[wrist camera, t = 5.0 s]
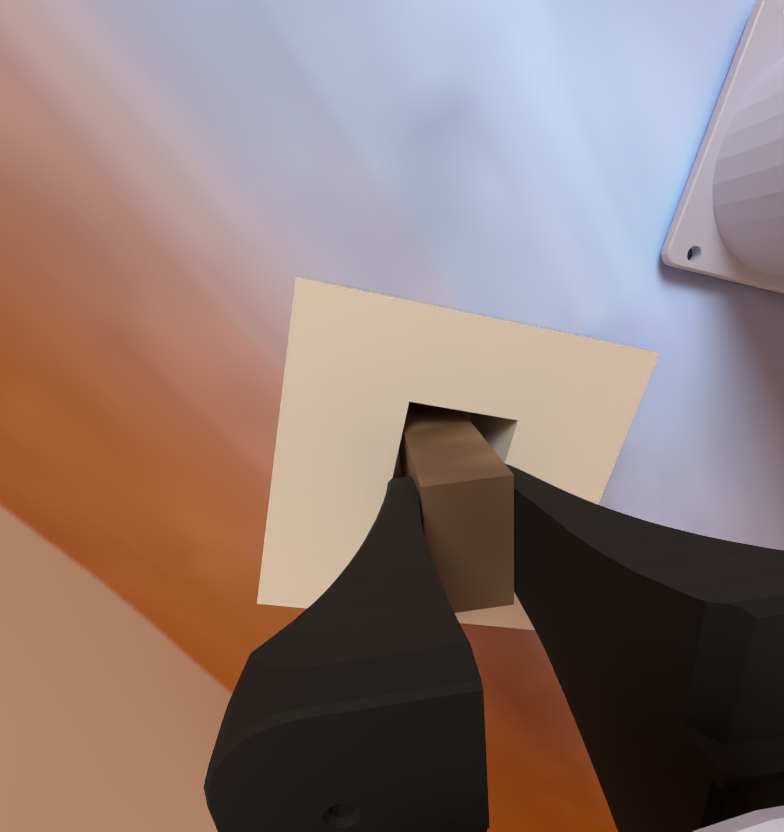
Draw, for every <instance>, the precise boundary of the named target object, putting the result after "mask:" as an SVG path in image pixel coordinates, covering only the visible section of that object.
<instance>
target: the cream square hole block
mask: <svg viewBox="0 0 784 832" xmlns="http://www.w3.org/2000/svg"><path fill="white" fill-rule="evenodd" d="M659 354H660V353H659V352H654V351H650V350H645V349H641V348H636V347H632V346H627V345H623V344H618V343H614V342H609V341H605V340H600V339H596V338H591V337H587V336H582V335H578V334H573V333H569V332H564V331H559V330H554V329H549V328H545V327H540V326H535V325H530V324H525V323H521V322H516V321H511V320H506V319H501V318H497V317H492V316H487V315H482V314H477V313H473V312H468V311H463V310H458V309H453V308H449V307H444V306H439V305H434V304H429V303H425V302H420V301H415V300H410V299H405V298H401V297H396V296H391V295H386V294H381V293H377V292H372V291H367V290H362V289H358V288H353V287H348V286H343V285H338V284H334V283H329V282H324V281H319V280H314V279H306V278H299V277H296V280H295V288H294V297H293V305H292V313H291V322H290V330H289V339H288V347H287V355H286V364H285V372H284V381H283V389H282V397H281V406H280V414H279V423H278V431H277V439H276V448H275V456H274V465H273V473H272V481H271V490H270V498H269V507H268V515H267V523H266V532H265V540H264V549H263V557H262V565H261V574H260V582H259V591H258V599H257V604H267V605H277V606H288V607H298V608H308V607H310V606H311V605H312V604H313V603H314V602H315V601H316V600H317V599H318V598H319V597H320V596H321V595H322V594H323V593H324V592H325V591H326V590H327V589H328V588H329V587H330V586H331V585H332V583H333V582H334V581H335V580H336V579H337V578H338V576H339V575H340V574H341V573H342V571H343V570H344V569H345V568H346V566H347V565H348V564H349V563H350V561H351V560H352V558H353V557H354V556H355V554H356V553H357V551H358V550H359V548H360V547H361V545H362V543H363V542H364V540H365V539H366V537H367V535H368V533H369V531H370V529H371V527H372V526H373V524H374V522H375V520H376V518H377V515H378V513H379V511H380V508H381V506H382V504H383V501H384V498H385V495H386V491H387V483H388V482H389V481H390V480H391V479H394V478H401V477H402V474H401V464H400V455H399V446H400V441H401V437H402V432H403V428H404V423H405V419H406V414H407V410H408V405H409V402H414V403H420V404H426V405H432V406H438V407H443V408H449V409H455V410H461V411H463V413H464V414H465V415H466V416H467V418H468V419H469V420H470V421H471V423H472V424H473V425H474V426H475V427H476V429H477V430H478V431H479V432H480V434H481V435H482V436H483V437H484V439H485V440H486V441H487V442H488V444H489V445H490V446H491V447H492V448H493V450H494V451H495V452H496V453H497V455H498V456H499V457H500V458H501V460H502V461H503V462H504V463H505V464H508V465H511V466H513V467H515V468H518V469H520V470H522V471H524V472H526V473H528V474H530V475H532V476H534V477H536V478H539V479H541V480H543V481H545V482H547V483H549V484H551V485H553V486H555V487H558V488H560V489H562V490H564V491H566V492H569V493H571V494H573V495H575V496H578V497H580V498H583V499H585V500H588V501H590V502H593V503H595V504H598V505H599V502H600V500H601V497H602V495H603V492H604V490H605V487H606V485H607V482H608V480H609V477H610V475H611V472H612V470H613V468H614V465H615V463H616V460H617V458H618V455H619V453H620V450H621V448H622V445H623V443H624V440H625V438H626V435H627V433H628V430H629V428H630V425H631V423H632V421H633V418H634V416H635V413H636V411H637V408H638V406H639V403H640V401H641V398H642V396H643V393H644V391H645V388H646V386H647V383H648V381H649V378H650V376H651V374H652V371H653V369H654V366H655V364H656V361H657V359H658V356H659ZM455 615H456V617H457V619H458V621H459V623H464V624H475V625H485V626H496V627H506V628H516V629H527V630H535V629H534V627H533V625H532V623H531V622H530V620H529V618H528V616H527V614H526V612H525V611H524V609H523V607H522V605H521V603H520V601H519V600H518V598H517V596H516V594H515V592H514V605H507V606H500V607H493V608H486V609H479V610H473V611H466V612H459V613H455Z"/></svg>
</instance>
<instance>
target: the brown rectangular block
mask: <svg viewBox="0 0 784 832" xmlns="http://www.w3.org/2000/svg"><path fill="white" fill-rule="evenodd" d="M399 455H400V464H401V474H402V477H409V476H412V478H413V480H414V482H415V485H416V487H417V490H418V495H419V504H420V513H421V522H422V528H423V533H424V536H425V539H426V542H427V545H428V548H429V551H430V554H431V557H432V560H433V563H434V565H435V568H436V571H437V574H438V576H439V579H440V581H441V583H442V586H443V588H444V591H445V593H446V596H447V598H448V600H449V603H450V605H451V607H452V609H453V611H454V613H459V612H466V611H473V610H479V609H486V608H493V607H500V606H507V605H514V474H513V473H512V472H511V471H510V469H509V468H508V467H507V466H506V465H505V463H504V462H503V461H502V460H501V458H500V457H499V456H498V455H497V453H496V452H495V451H494V450H493V448H492V447H491V446H490V445H489V444H488V442H487V441H486V440H485V439H484V437H483V436H482V435H481V434H480V432H479V431H478V430H477V429H476V427H475V426H474V425H473V424H472V423H471V421H470V420H469V419H468V418H467V416H466V415H465V414H464V413H463V411H461V410H455V409H449V408H443V407H438V406H432V405H426V404H420V403H414V402H409V405H408V410H407V414H406V419H405V423H404V428H403V432H402V437H401V441H400V446H399Z"/></svg>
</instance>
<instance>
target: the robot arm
mask: <svg viewBox="0 0 784 832" xmlns="http://www.w3.org/2000/svg"><path fill="white" fill-rule="evenodd" d="M783 12H784V0H757V1H756V3H755V5H754V6H753V9H752V11H751V14H750V17H749V19H748V22H747V25H746V27H745V30H744V33H743V35H742V38H741V40H740V43H739V46H738V48H737V51H736V54H735V56H734V59H733V62H732V64H731V67H730V70H729V72H728V75H727V78H726V80H725V83H724V86H723V88H722V91H721V94H720V96H719V99H718V102H717V104H716V107H715V110H714V112H713V115H712V118H711V120H710V123H709V126H708V128H707V131H706V134H705V136H704V139H703V142H702V144H701V147H700V150H699V152H698V155H697V157H696V160H695V163H694V165H693V168H692V171H691V173H690V176H689V179H688V181H687V184H686V187H685V189H684V192H683V195H682V197H681V200H680V203H679V205H678V208H677V211H676V213H675V216H674V219H673V221H672V224H671V227H670V229H669V232H668V235H667V237H666V240H665V243H664V245H663V248H662V252H661V257H662V261H663V262H664V264H666V265H668V266H671V267H675V268H679V269H683V270H687V271H691V272H695V273H700V274H704V275H708V276H712V277H716V278H720V279H724V280H728V281H733V282H737V283H741V284H745V285H749V286H753V287H757V288H761V289H766V290H770V291H774V292H778V293H782V294H784V13H783ZM690 248H691V249H692V252H693V253H692V257H691V259H690V260H688V258H687V253H688V251H689V249H690ZM505 465H506V466H507V467H508V468H509V469H510V471H511V472H512V473H513V474H514V592H515V594H516V596H517V598H518V600H519V601H520V603H521V605H522V607H523V609H524V611H525V612H526V614H527V616H528V618H529V620H530V622H531V623H532V625H533V627H534V629H535V631H536V632H537V634H538V636H539V638H540V640H541V642H542V644H543V646H544V648H545V650H546V652H547V655H548V657H549V659H550V662H551V664H552V666H553V669H554V671H555V673H556V676H557V678H558V680H559V683H560V685H561V687H562V690H563V692H564V694H565V697H566V699H567V702H568V704H569V707H570V709H571V712H572V714H573V716H574V719H575V721H576V724H577V726H578V729H579V731H580V734H581V736H582V738H583V741H584V743H585V746H586V749H587V751H588V754H589V756H590V759H591V761H592V764H593V767H594V769H595V772H596V774H597V777H598V779H599V782H600V785H601V787H602V790H603V792H604V795H605V798H606V800H607V803H608V805H609V808H610V811H611V813H612V816H613V819H614V822H615V824H616V827H617V830H618V832H784V551H783V550H776V549H770V548H764V547H759V546H753V545H747V544H742V543H736V542H731V541H726V540H721V539H716V538H711V537H707V536H702V535H698V534H694V533H689V532H685V531H681V530H677V529H673V528H669V527H665V526H662V525H658V524H655V523H651V522H648V521H644V520H641V519H638V518H635V517H632V516H629V515H626V514H623V513H620V512H616V511H614V510H611V509H608V508H605V507H603V506H600V505H598V504H595V503H593V502H590V501H588V500H585V499H583V498H580V497H578V496H575V495H573V494H571V493H569V492H566V491H564V490H562V489H560V488H558V487H555V486H553V485H551V484H549V483H547V482H545V481H543V480H541V479H539V478H536V477H534V476H532V475H530V474H528V473H526V472H524V471H522V470H520V469H518V468H515V467H513V466H511V465H508V464H505ZM204 790H205V796H206V800H207V806H208V809H209V811H210V813H211V816H212V818H213V821H214V823H215V825H216V828H217V830H218V832H487V829H488V828H489V809H488V787H487V765H486V742H485V720H484V698H483V687H482V682H481V678H480V675H479V671H478V668H477V665H476V662H475V658H474V655H473V652H472V649H471V645H470V642H469V641H468V639H467V637H466V635H465V633H464V631H463V629H462V628H461V626H460V623H459V621H458V619H457V617H456V615H455V613H454V611H453V609H452V607H451V605H450V603H449V600H448V598H447V596H446V593H445V591H444V588H443V586H442V583H441V581H440V579H439V576H438V574H437V571H436V568H435V565H434V563H433V560H432V557H431V554H430V551H429V548H428V545H427V542H426V539H425V536H424V533H423V528H422V522H421V513H420V504H419V495H418V490H417V487H416V485H415V482H414V480H413V478H412V476H409V477H401V478H394V479H391V480H390V481H389V482H388V483H387V491H386V495H385V498H384V501H383V504H382V506H381V508H380V511H379V513H378V515H377V518H376V520H375V522H374V524H373V526H372V527H371V529H370V531H369V533H368V535H367V537H366V539H365V540H364V542H363V543H362V545H361V547H360V548H359V550H358V551H357V553H356V554H355V556H354V557H353V558H352V560H351V561H350V563H349V564H348V565H347V566H346V568H345V569H344V570H343V571H342V573H341V574H340V575H339V576H338V578H337V579H336V580H335V581H334V582H333V583H332V585H331V586H330V587H329V588H328V589H327V590H326V591H325V592H324V593H323V594H322V595H321V596H320V597H319V598H318V599H317V600H316V601H315V602H314V603H313V604H312V605H311V606H310V607H308V608H307V609H306V610H305V611H304V612H303V613H302V614H301V615H300V616H298V617H297V618H296V619H295V620H294V621H292V622H291V623H290V624H289V625H287V626H286V627H285V628H283V629H282V630H281V631H279V632H278V633H277V634H276V635H274V636H273V637H272V638H270V639H269V640H268V641H267V642H265V643H264V644H263V645H261V646H260V647H258V648H257V649H256V650H254V651H253V652H252V653H251V654H250V656H249V658H248V660H247V662H246V665H245V667H244V669H243V671H242V674H241V676H240V678H239V680H238V682H237V685H236V687H235V689H234V692H233V694H232V696H231V699H230V701H229V703H228V706H227V709H226V712H225V715H224V718H223V721H222V724H221V728H220V731H219V734H218V737H217V740H216V744H215V747H214V750H213V753H212V756H211V760H210V763H209V766H208V771H207V776H206V779H205V784H204Z"/></svg>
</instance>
